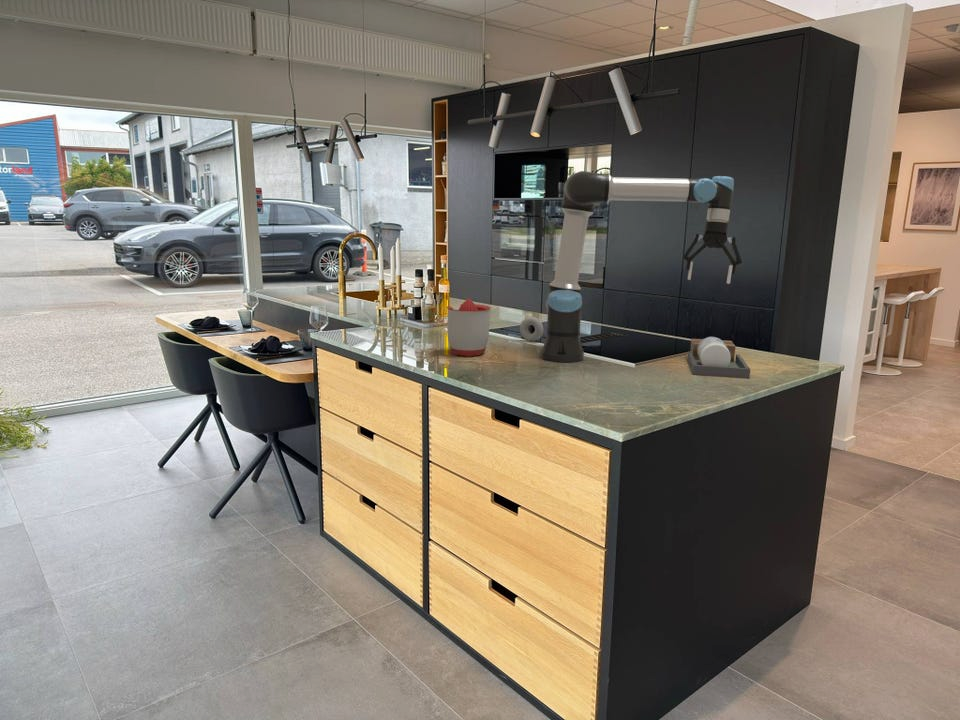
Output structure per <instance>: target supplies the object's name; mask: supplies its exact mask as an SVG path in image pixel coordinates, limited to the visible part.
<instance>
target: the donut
mask: <svg viewBox="0 0 960 720" xmlns="http://www.w3.org/2000/svg"><path fill="white" fill-rule="evenodd" d="M530 326H533V327H534V332H530V330H529V327H530ZM519 333H520V335H521V336H522V337H523V339H524V340H526V341H527V342H531V343H532V342H537V341H539V340H540V339H541V337H542V336H543V333H544V326H543V323H542V321H541V320H540V319H539V318H537V317H536V316H527V317H525V318H524V319H523V320H522V321H521V323H520V325H519Z"/></svg>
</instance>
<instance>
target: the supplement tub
mask: <svg viewBox="0 0 960 720" xmlns="http://www.w3.org/2000/svg"><path fill="white" fill-rule="evenodd" d="M702 339H703V340H702V341H701V342H700V343H699V345H698V348H697V353H698V356H699V359H700V361H701V364H702V365H705V366H720V367H728V365H729V363H730V360H731V356H730V352H729V350H728V348H727V347H726V345H725V344H724V342H723V341H722V339H721V338H718V337H715V336H708V337H705V338H702Z"/></svg>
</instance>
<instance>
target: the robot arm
mask: <svg viewBox="0 0 960 720" xmlns="http://www.w3.org/2000/svg"><path fill="white" fill-rule="evenodd" d="M734 185H735V181H734V178H733V177H731V176H726V175H725V176H724V175H723V176H722V175H717V176H712V179H710V178H707V177H704V178H703V177H702V178H676V177H674V178H672V177H671V178H669V177H631V176H630V177H625V176H624V177H623V176H622V177H621V176H620V177H619V176H615V177H614V176H612V175H611V174H610V173H599V172H591V171H586V170H582V171H577V172H575V173H573V174H570V175H569V176H568V178H567V179H566V181H565V182H564V184H563V189H562V191H563V193H562V194H563V197H562V202H561V211H562V212H563V214H564V217H563V223H562V224H563V225H562V229H561V230H562V231H561V236H560V242H559V248H558V254H557V261H556V267H555V275H554V279H553V281H551V282H549V284H548V285H549V286H548V291H547V297H546V298H545V304H544V306H545V312H546V314H547V318H546V319H547V322H546V323H547V324H546V338H545V340H544V343H543V346H542V349H541V350H540V351H541V352H540V357H541V358H542V359H543V360H546V361H551V362H557V363H574V362H575V363H576V362H580V361H583V360H584V357H585V352H584V349H583V344H582V341H581V321H582V320H581V318H582V305H583V299H582V295H581V290H582V288H581V286H580V285H579V277H580V271H581V264H582V258H583V253H584V247H585V246H584V245H585V240H586V239H585V238H586V234H587V230H588V229H587V228H588V222H589V218H590V216H592V215H593V214H594V212H595V205H596V204H609V203H610V202H611V201H625V202H627V201H632V202H633V201H634V202H635V201H636V202H639V201H641V202H683V203H685V202H687V203H698V204H699V203H700V204H707V205H708V206H707V214H706V220H707V221H706V222H705V226H704V233H703V234H699V233H695V235H694V237H693V240H692V242H690V244H689V246H688V248H687V249H686V251H685V252H684V253H683V254H682V258H681V259H683V260H685V261H686V267H685V269H686V271H688V274H687V281H691V280H692V279H691V278H692V272H693V271H692V270H693V267H694V266H693V265H694V261H692V260H693V259H695V257H697V256H698V255H699V254H700V253H701V252H702V251H703V250H704V249H706V248H709V249H712V248H713V249H721V251H722V252H723V254H724V255H725V257H726V258H727V260H728V261H729V262H730V264H729V266H728V272H727V276H726V277H727V279H726V284H728V285H729V284H731V278H732V275H735V273H736V268H737V267H736V266H737V265H740V264H742V263H743V262H742V261H743V260H742V258H741V256H740V252H739V250H738V246H737V244H736V237H735V236H732V237H728V236H727V234H728V227H729V223H728V222H729V220H730V213H731V206H732V205H731V204H732V200H733V194H734V188H735V187H734ZM701 239H702V241H703V242H704V243H703V244H701V245H700V247H698V248H697V249H696V250H695V251H694V252H693V253H691V252H692V251H693V249H694V247H695V245H696V244H697V243H698V241H700V240H701ZM727 241H728V243H729V244H730V247H731V249H732V252H733V255H734V258H735V259H734V258H733V256H732V254H731V253H730V251H729V250H728V249H727V247H726V245H725V243H726V242H727ZM690 253H691V254H690Z"/></svg>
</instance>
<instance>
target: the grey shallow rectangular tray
mask: <svg viewBox="0 0 960 720" xmlns="http://www.w3.org/2000/svg"><path fill="white" fill-rule="evenodd" d="M686 360H687V363H688V366H689V368H690V371H691V374H692V375H695V376H710V377H711V376H712V377H722V378H723V377H724V378H725V377H726V378H737V377H738V378H739V379H742V378H743V379H750V378H751V377H750V375H751V368H750V367H749V365H748V364H747V362H746V361H745V360H744V359H743V357H742V356H741V354H739V353H738V354H736V353H735V357H734V362H730V363H729V365H728V367H720V366H705V365H702V364H701V361H700V360H695V359H694V357H693V354H692V352H690V351H688V352H687V357H686Z"/></svg>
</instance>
